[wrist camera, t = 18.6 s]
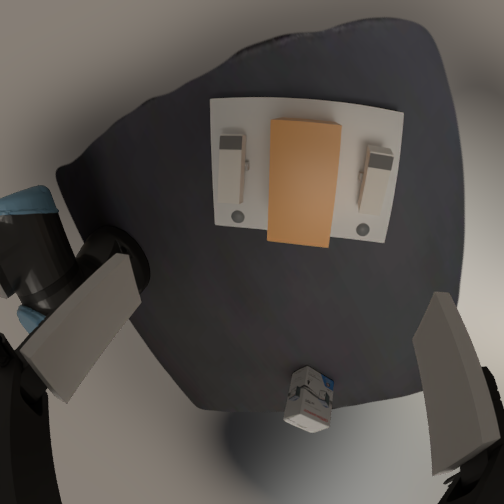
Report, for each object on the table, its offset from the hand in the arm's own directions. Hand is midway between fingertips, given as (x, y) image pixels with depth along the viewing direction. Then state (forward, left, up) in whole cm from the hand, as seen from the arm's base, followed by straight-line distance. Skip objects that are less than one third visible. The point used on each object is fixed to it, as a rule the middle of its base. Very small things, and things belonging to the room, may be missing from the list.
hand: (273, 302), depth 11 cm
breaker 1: (-8, 0, -22) cm, 23 cm away
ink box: (+6, -43, -27) cm, 51 cm away
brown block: (0, 0, -24) cm, 24 cm away
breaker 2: (+8, 0, -22) cm, 23 cm away
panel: (0, 0, -27) cm, 27 cm away
